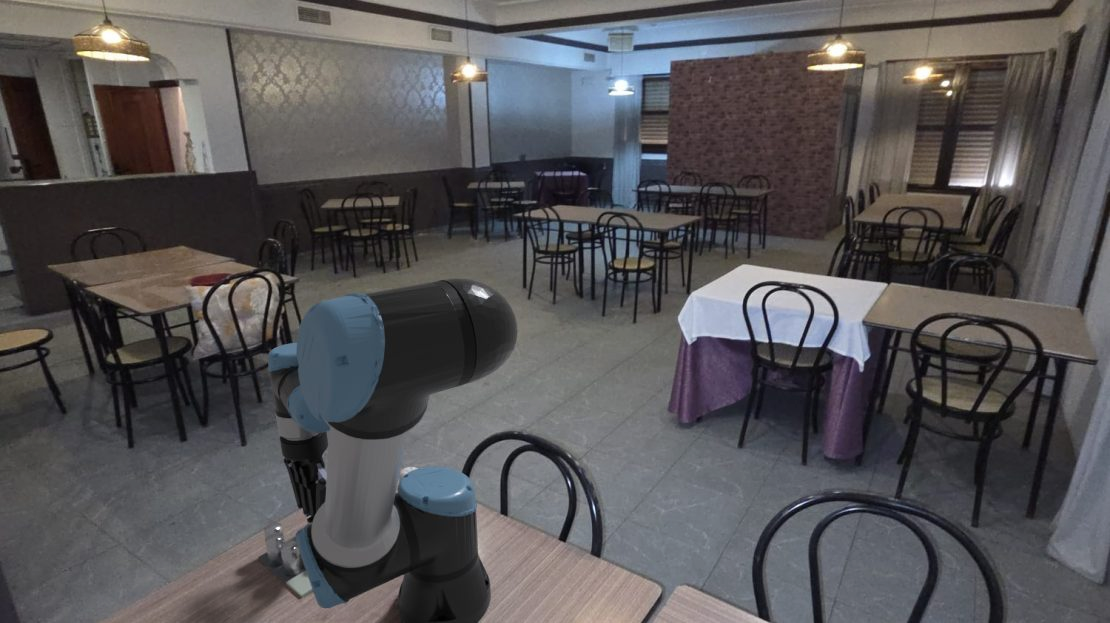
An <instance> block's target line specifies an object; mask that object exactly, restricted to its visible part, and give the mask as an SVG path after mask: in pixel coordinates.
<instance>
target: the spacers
mask: <svg viewBox="0 0 1110 623" xmlns="http://www.w3.org/2000/svg"><path fill="white" fill-rule="evenodd" d="M263 532H264V536H265V537H264V538H265V539H264V542H265V543H264V544H265V548H266V552H267V555H268V560H269V565H270V566H271V567H278V566H281V565H283V566H284V572H285V575H286V576H288V577H292V576H296V575H298V574H299V573H301V572H302V570H303V565H302V558H301V554H300V551H299V548H298V545H297V542H296V541H291V542H288V543H286V544H285V542H286V541H285V536H284V529H283V524H282V523H281V522H272V523H269V524H267V525H266V526H265V527H264V529H263Z"/></svg>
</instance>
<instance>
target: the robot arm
mask: <svg viewBox="0 0 1110 623" xmlns="http://www.w3.org/2000/svg"><path fill="white" fill-rule="evenodd" d="M512 308H513V307H512V306H511V304H510V303H509V301H508V300H507V299H506V298H505V297H504V296H503V295H502V294H500V292H499V291H497V290H496V289H495V288H493V287H491V286H489V285H487V284H486V283H483V282H481V281H477V280H473V279H468V278H446V279H441V280H440V279H439V280H438V281H433V282H432V281H431V282H424V283H420V284H415V285H409V286H403V287H397V288H391V289H386V290H380V291H375V292H369V293H368V292H367V293H362V292H350V293H346V294H343V295H342V296H339V297H335V298H330V299H325V300H322V301H320V302H317V303H315V304H313V305H312V306H311V307H309V309H308V310H306V312H305V314H304V315H303V317H302V319H301V322H300V324H299V328H298V332H297V339H296V342H291V343H287V344H282V345H279V346H277V347H274V348H273V349H271V350H270V351H269V352H268V354H267V363H268V369H267V372H268V373H269V378H270V386H271V390H272V391H271V392H272V395H273V401H274V410H275V419H276V424H277V426H276V427H277V431H278V435H279V442H280V448H281V454H282V456H283V457H284V458H283V463H284V465H285V467H286V470H287V472H288V476H289V480H290V484H291V487H292V490H293V494H294V498H295V502H296V504H297V505H296V506H297V508H298V510H299V509H300V510H302V513H303V515H304V516H306V524H305V526H304V527H302V528H299V529H297V531H296V532H295V535H294V537H295V538H296V541H297V545H298V548H299V551H300V554H301V557H302V560H303V563H304V566H305V569H306V572H307V575H308V578H309V581H310V584H311V587H312V590H313V591H312V593H313V596H314V598H315V601H316V603H317V605H318V607H320V608H323V609H331V608H334V607H336V606H339V605H342V604H347V603H348V602H349V601H350V600H352V599H354V598H356V597H359V596H361V595H363V594H365V593H367V592H369V591H371V590H373V589H376V588H377V587H380V586H382V585H384V584H387V583H389V582H391V581H393V580H395V579H397V578H400V577H401V576H403V579H402V582H401V584H400V587H399V589H398V590H399V591H398V594H397V596H398V597H397V600H398V602H397V603H398V612H399V616H400V618H401V620H402V622H403V623H477V622H478V621H479V620H480V619H481V618H482V617H483V616H484V614H485V613H486V612H487V610H488V608H489V606H490V604H491V603H490V602H491V597H492V593H491V592H492V591H491V589H492V588H491V580H490V577H489V574H488V572H487V569H486V568H485V566H484V564H483V562H482V560H481V558H480V555H479V545H478V544H479V543H478V541H479V539H478V522H477V521H478V519H477V518H478V517H477V508H478V503H477V502H478V501H477V499H476V495H475V494H476V493H475V492H476V491H475V488H474V483H473V482H472V479H471V478H469V476H467V475H466V474H464V473H463V472H462V471H459V470H457V469H454V468H451V467H446V466H445V467H444V466H433V465H432V466H424V467H419V468H418V469H415V470H413V471H410V472H409V473H407V474H405V475H404V478H402V479H401V480H400V481H399V474H400V472H401V470H402V469H401V468H402V463H403V458H404V454H405V448H406V443H407V442H406V441H407V439H408V438H407V437H408V433H409V432H410V431H411V430H413V429H414V428H415V427H416V426H418V425H419V423H420V422H421V420H422V419H423V418H424V416H425V413H426V411H427V407H428V405H429V404H428V403H429V400H430V396H431V395H433V394H437V393H439V392H444V391H446V390H450V389H454V388H457V387H460V386H464V385H467V384H470V383H474V382H476V381H479V380H481V379H484V378H485V377H487V376H490V375H491V374H493V373H494V372H496V371H497V370H498V369H500V368H501V367H502V366H504V364H505V363H506V362H507V361H508V359H509V358H510V357H511V355H512V353H513V352H514V349H515V346H516V344H517V338H518V322H517V318H516V315H515V313H514V310H513V309H512ZM328 432H329V436H328ZM328 437H329V438H328ZM327 449H328V455H327V471H326V470H325V468H326V463H325V461H324V458H323V455H324V453H325V452H326V451H327Z"/></svg>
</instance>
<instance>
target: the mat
mask: <svg viewBox="0 0 1110 623" xmlns="http://www.w3.org/2000/svg"><path fill="white" fill-rule="evenodd" d="M291 541H296V538H295V536H294V537H292V538H290V539H288V540H287V541H285V544H286V543H288V542H291ZM296 542H297V541H296ZM301 558H302V557H301ZM258 561H259V562H261V563H262V564H263V565H264V566H265V567H266V568H268V569H269V570H270V571H271V572H272V573H273V574H274V575H276V576H277V577H278V578H279V579H280V580H282V582H283V583H285V584H286V585H287V586H288V587H289V588H290V589H291V590H292V591H294V592H295V594H297V595H298V596H300V597H301V598H304V597H305V596H307V595H309V594H311V593H313V590H312V587H311V584H310V581H309V578H308V575H307V572H306V569H305V566H304V563H303V560H302V565H303V570H302V572H301V573H299V574H298V575H296V576H292V577H288V576H286V575H285V572H284V566H283V565H281V566H278V567H271V566H270V565H269V560H268V555H267V551H266V552H264V553H263V554H260V555H259V556H258Z"/></svg>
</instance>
